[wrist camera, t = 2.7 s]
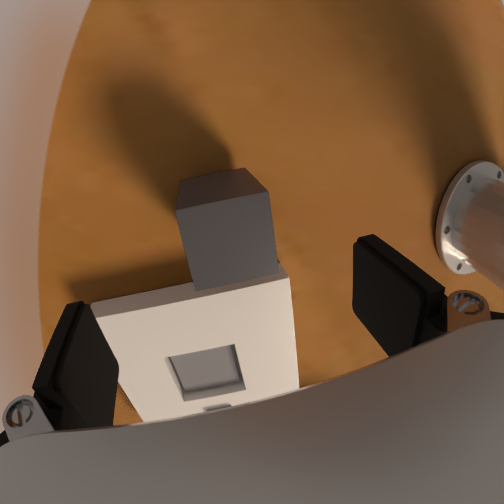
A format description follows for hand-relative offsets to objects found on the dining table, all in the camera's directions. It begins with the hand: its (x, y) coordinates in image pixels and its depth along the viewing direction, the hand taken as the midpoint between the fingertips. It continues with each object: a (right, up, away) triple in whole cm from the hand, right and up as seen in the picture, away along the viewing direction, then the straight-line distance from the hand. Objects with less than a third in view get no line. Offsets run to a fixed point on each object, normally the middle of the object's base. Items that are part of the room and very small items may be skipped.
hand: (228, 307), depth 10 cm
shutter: (-3, -8, +17) cm, 19 cm away
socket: (-4, -8, +18) cm, 20 cm away
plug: (-2, +6, +12) cm, 13 cm away
